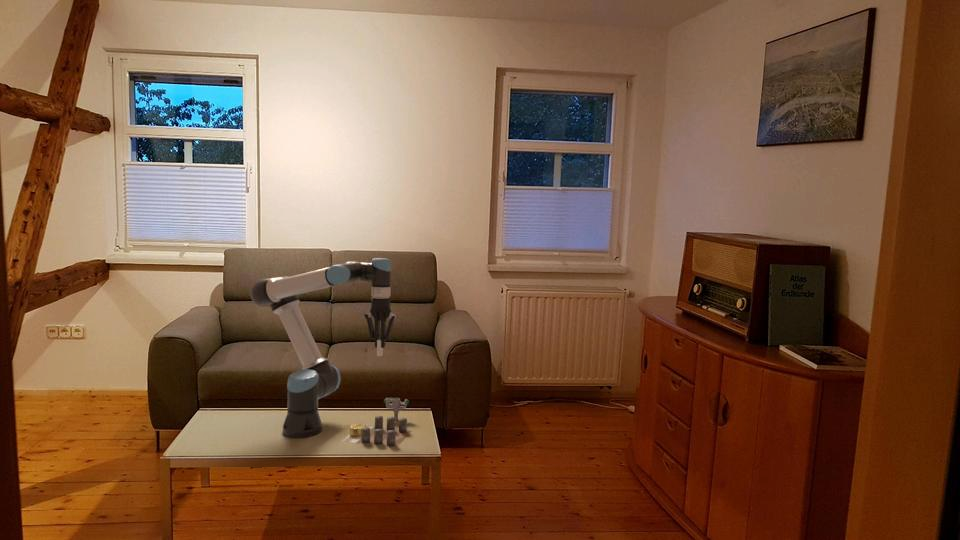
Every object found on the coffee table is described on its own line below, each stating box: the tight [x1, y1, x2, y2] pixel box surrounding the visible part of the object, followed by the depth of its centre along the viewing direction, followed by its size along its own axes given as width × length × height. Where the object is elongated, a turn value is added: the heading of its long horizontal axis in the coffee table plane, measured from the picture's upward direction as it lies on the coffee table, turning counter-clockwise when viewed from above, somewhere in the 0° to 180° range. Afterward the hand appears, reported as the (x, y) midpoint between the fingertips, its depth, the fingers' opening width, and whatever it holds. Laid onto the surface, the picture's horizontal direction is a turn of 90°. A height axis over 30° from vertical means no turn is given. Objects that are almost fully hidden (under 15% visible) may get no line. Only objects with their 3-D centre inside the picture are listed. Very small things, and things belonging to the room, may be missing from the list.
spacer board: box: [341, 415, 412, 448], centre depth 236 cm, size 22×18×6 cm
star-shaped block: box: [348, 423, 367, 437], centre depth 238 cm, size 7×7×3 cm
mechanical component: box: [383, 397, 410, 422], centre depth 255 cm, size 3×10×10 cm, turn 89°
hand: (379, 355), depth 244 cm, fingers closed
